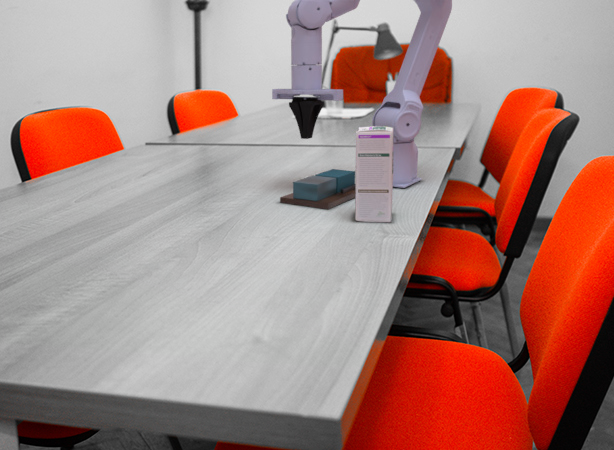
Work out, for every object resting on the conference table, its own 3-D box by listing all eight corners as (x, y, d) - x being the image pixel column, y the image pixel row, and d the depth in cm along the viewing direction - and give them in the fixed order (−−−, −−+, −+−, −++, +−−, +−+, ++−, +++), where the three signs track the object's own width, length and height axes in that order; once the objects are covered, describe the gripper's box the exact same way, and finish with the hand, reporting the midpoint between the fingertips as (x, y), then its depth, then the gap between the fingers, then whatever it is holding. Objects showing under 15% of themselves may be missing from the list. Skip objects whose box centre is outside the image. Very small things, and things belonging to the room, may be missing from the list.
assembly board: (323, 186, 117) (323, 167, 116) (368, 192, 111) (368, 171, 110) (280, 202, 104) (279, 181, 103) (328, 209, 99) (328, 186, 97)
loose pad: (332, 183, 114) (332, 169, 114) (355, 186, 112) (355, 171, 111) (314, 190, 109) (314, 174, 108) (338, 193, 106) (338, 177, 105)
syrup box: (391, 222, 90) (395, 129, 86) (353, 221, 91) (355, 129, 87) (391, 213, 95) (395, 125, 91) (355, 212, 96) (357, 125, 92)
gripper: (262, 66, 108) (264, 138, 111) (330, 65, 100) (329, 142, 103) (283, 65, 113) (283, 134, 117) (348, 64, 105) (347, 138, 109)
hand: (306, 138), depth 110 cm, fingers closed
